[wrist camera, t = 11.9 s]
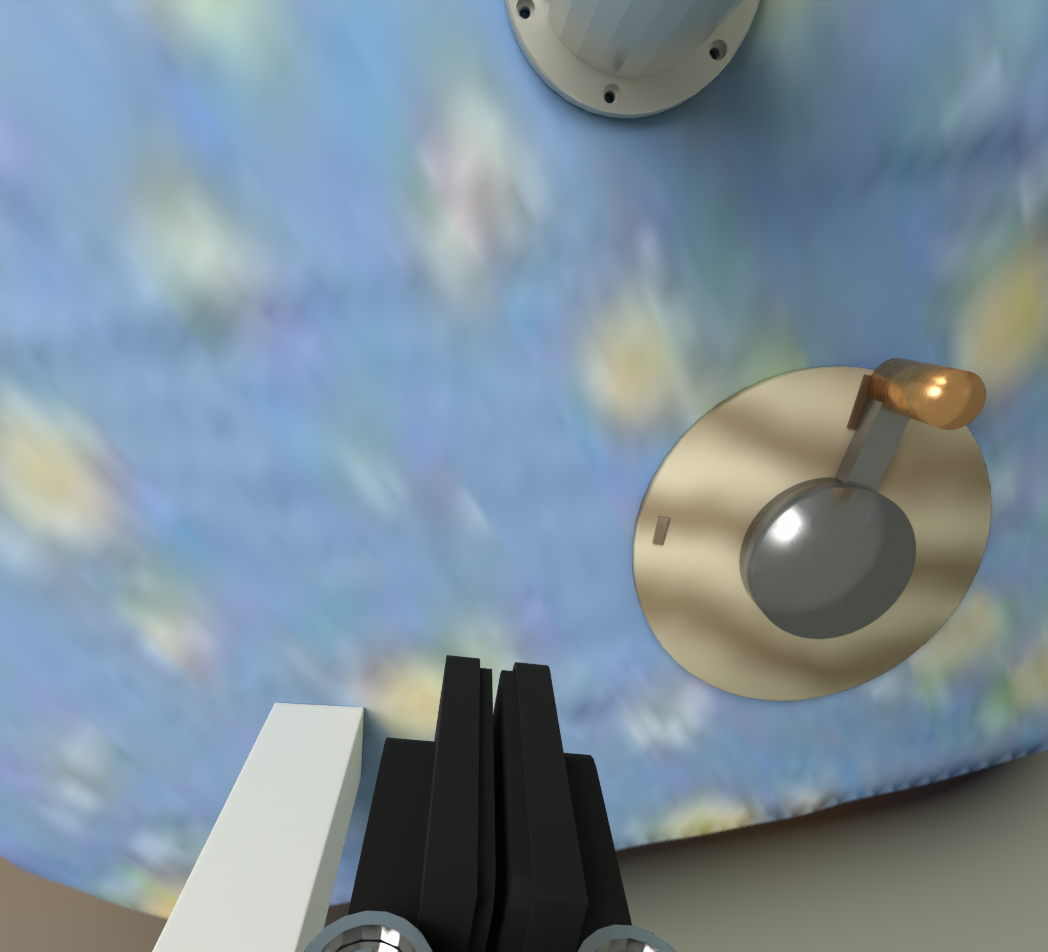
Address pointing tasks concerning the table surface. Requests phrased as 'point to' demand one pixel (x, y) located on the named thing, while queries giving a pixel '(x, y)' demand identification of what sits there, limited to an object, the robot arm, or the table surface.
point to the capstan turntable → (851, 513)
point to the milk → (275, 838)
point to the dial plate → (756, 478)
